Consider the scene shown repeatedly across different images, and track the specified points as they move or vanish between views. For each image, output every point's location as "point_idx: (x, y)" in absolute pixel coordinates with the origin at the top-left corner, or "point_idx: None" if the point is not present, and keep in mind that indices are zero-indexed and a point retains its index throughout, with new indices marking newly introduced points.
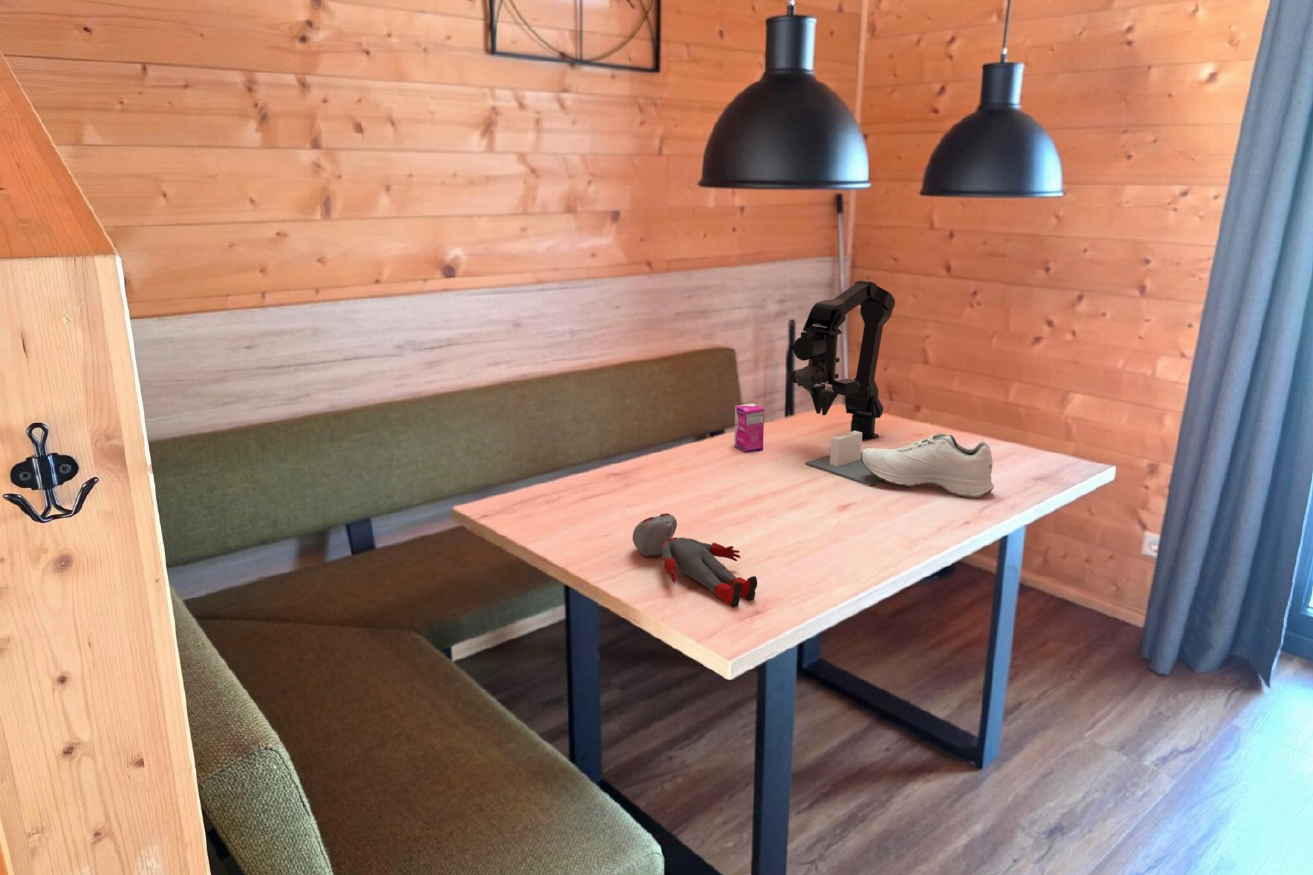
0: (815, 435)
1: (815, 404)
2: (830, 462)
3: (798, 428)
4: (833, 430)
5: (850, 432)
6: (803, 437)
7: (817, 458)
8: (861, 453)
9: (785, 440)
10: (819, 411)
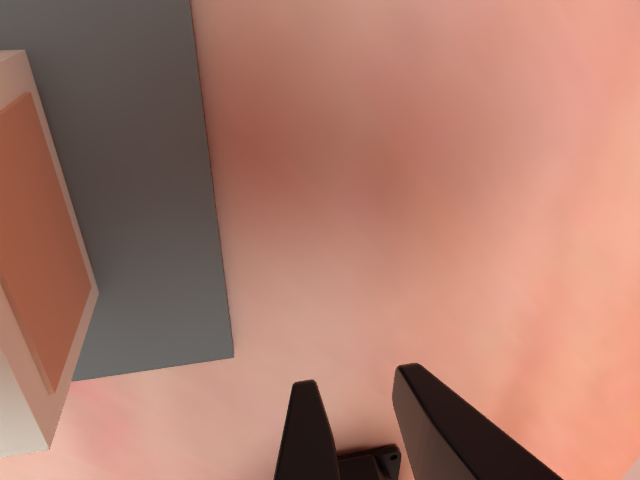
0: (498, 356)
1: (496, 466)
2: (10, 53)
3: (603, 354)
4: None
5: (7, 397)
6: (527, 300)
7: (197, 78)
8: (129, 361)
9: (580, 199)
10: (402, 410)
